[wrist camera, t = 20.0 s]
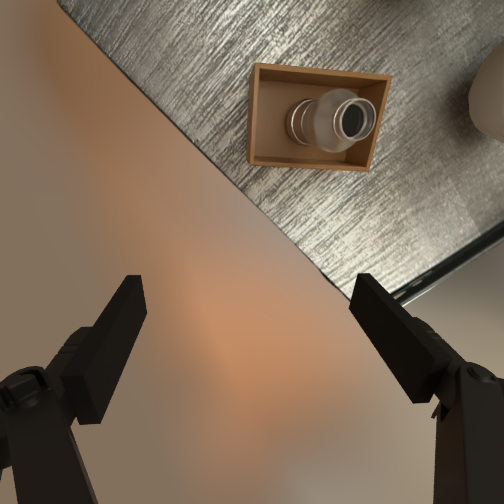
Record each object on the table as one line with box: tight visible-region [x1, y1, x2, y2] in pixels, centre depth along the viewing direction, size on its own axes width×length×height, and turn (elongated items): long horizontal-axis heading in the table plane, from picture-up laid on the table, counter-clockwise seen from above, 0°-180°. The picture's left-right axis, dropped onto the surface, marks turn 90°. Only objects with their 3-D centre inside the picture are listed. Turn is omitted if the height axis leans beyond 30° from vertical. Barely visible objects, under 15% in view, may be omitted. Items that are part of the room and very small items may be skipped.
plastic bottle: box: [286, 89, 376, 153], centre depth 34 cm, size 6×7×20 cm
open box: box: [246, 63, 392, 172], centre depth 39 cm, size 18×12×8 cm
